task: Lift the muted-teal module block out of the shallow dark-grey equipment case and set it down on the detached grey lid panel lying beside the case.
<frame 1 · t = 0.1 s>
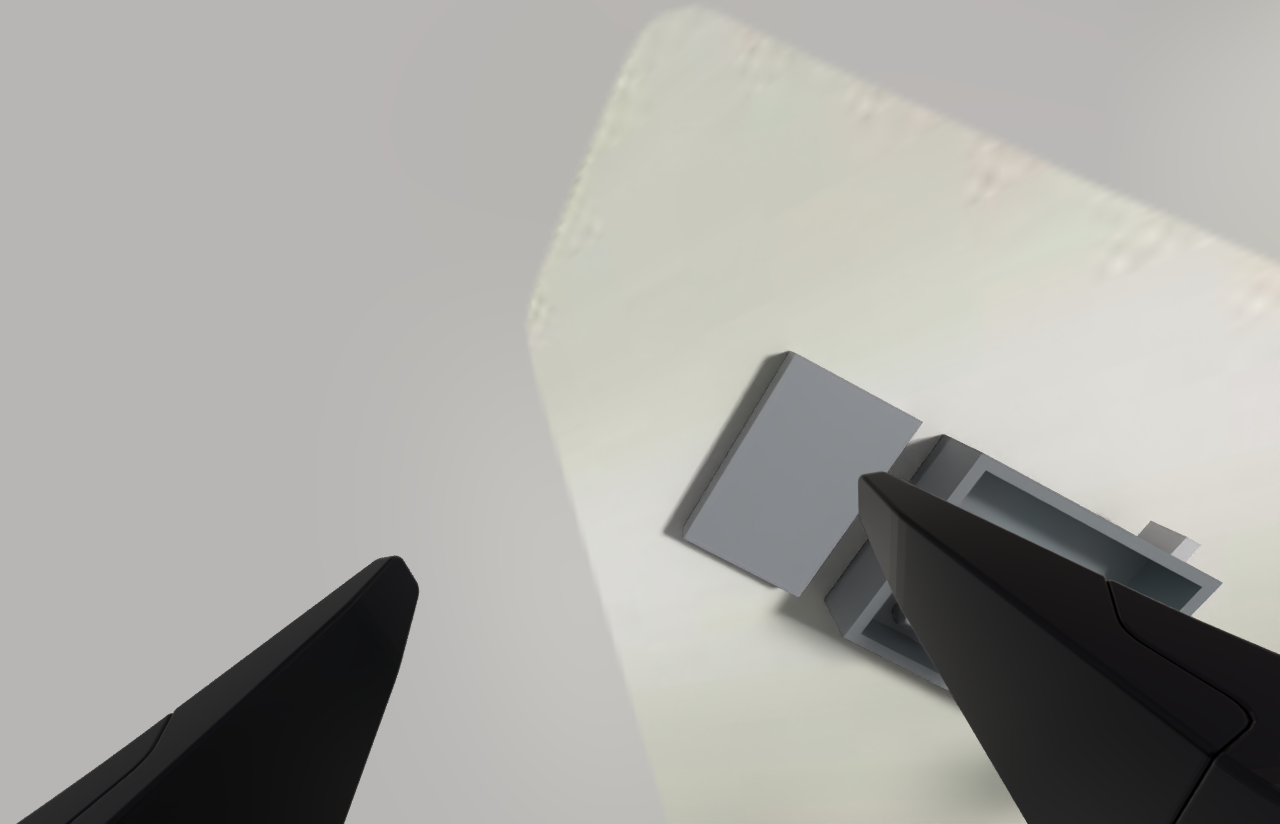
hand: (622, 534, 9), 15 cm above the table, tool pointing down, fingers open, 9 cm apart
lid panel: (791, 474, 25), on the table
case: (984, 575, 25), on the table
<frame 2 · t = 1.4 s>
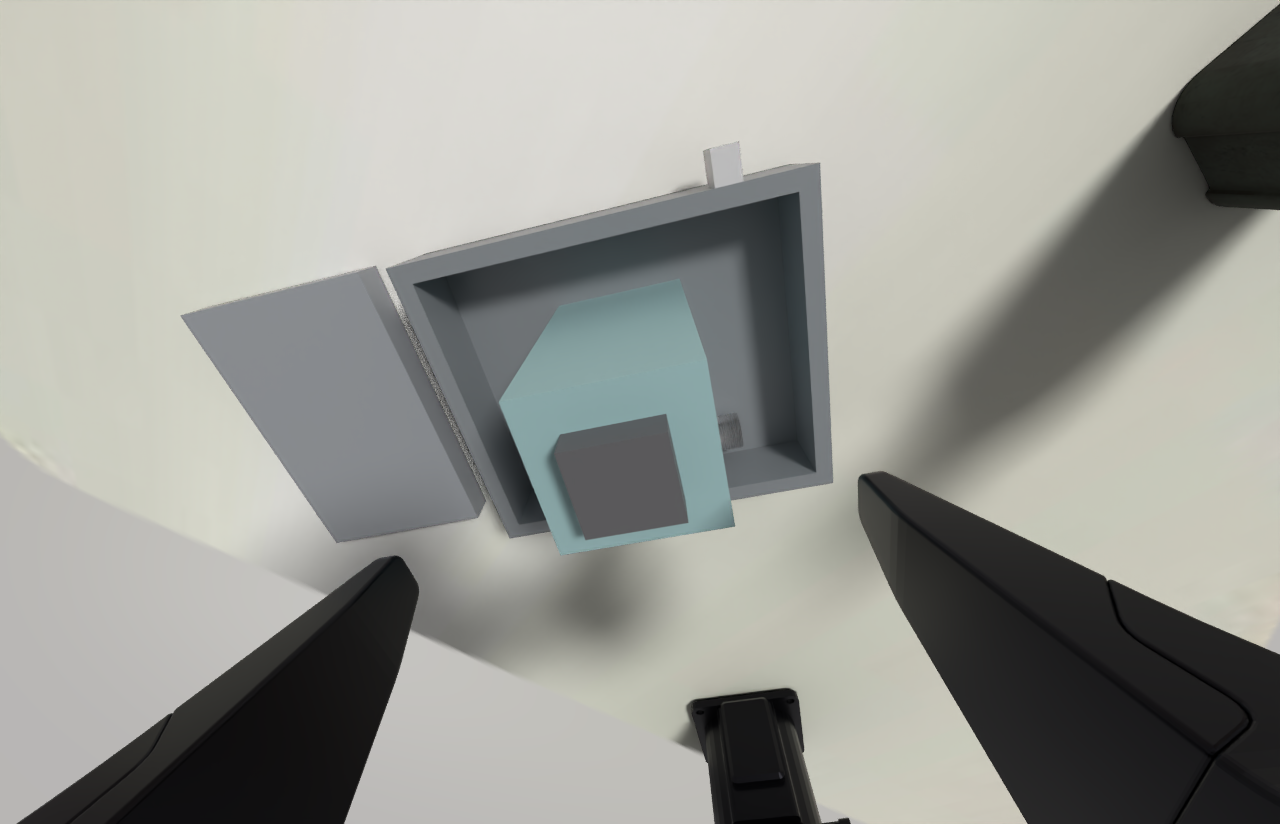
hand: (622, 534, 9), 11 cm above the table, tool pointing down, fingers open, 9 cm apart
lid panel: (361, 414, 20), on the table
candle: (1269, 99, 15), on the table
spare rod: (653, 437, 20), point 1 cm above the table, touching case
module: (632, 350, 18), point 1 cm above the table, touching case
case: (635, 356, 19), on the table
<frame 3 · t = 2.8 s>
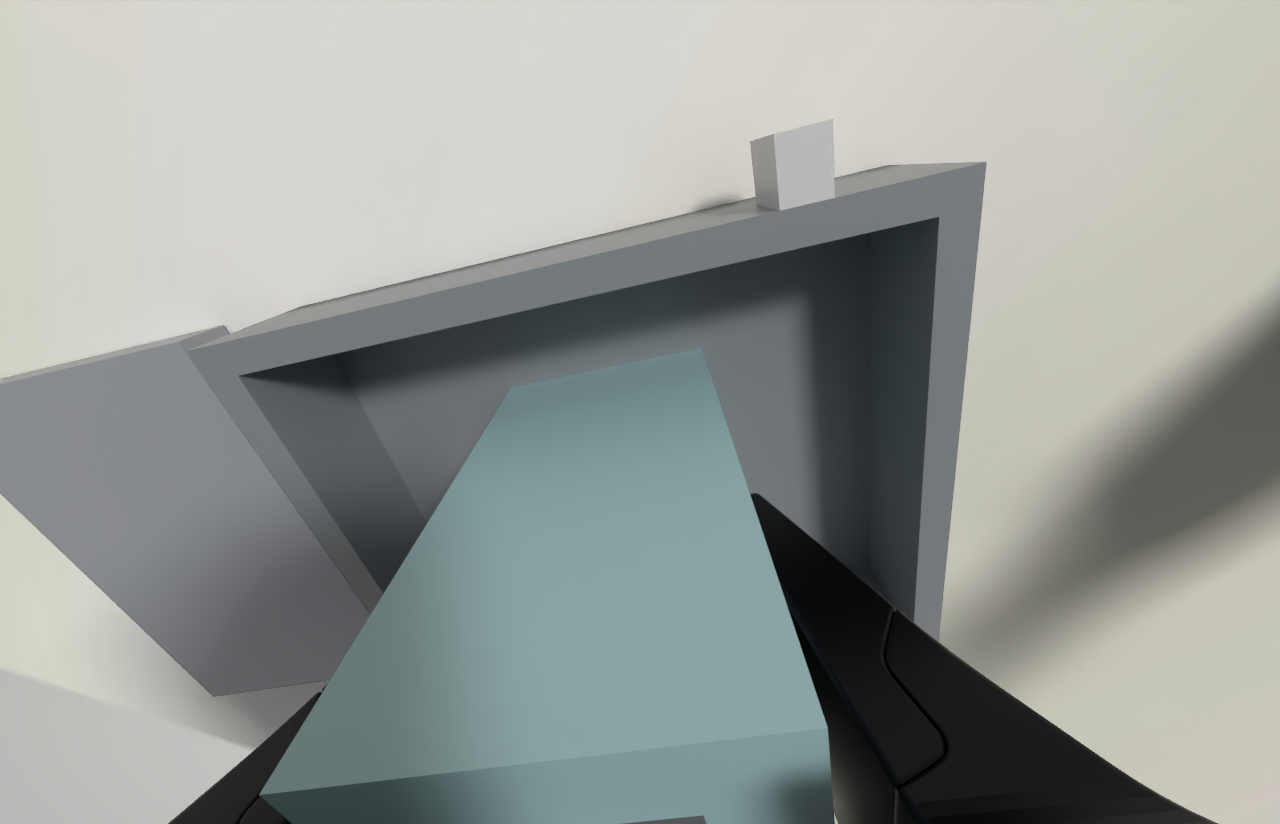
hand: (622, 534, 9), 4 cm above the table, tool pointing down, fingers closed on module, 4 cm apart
lid panel: (234, 528, 14), on the table
module: (627, 450, 12), point 1 cm above the table, touching case, gripper
case: (632, 454, 12), on the table
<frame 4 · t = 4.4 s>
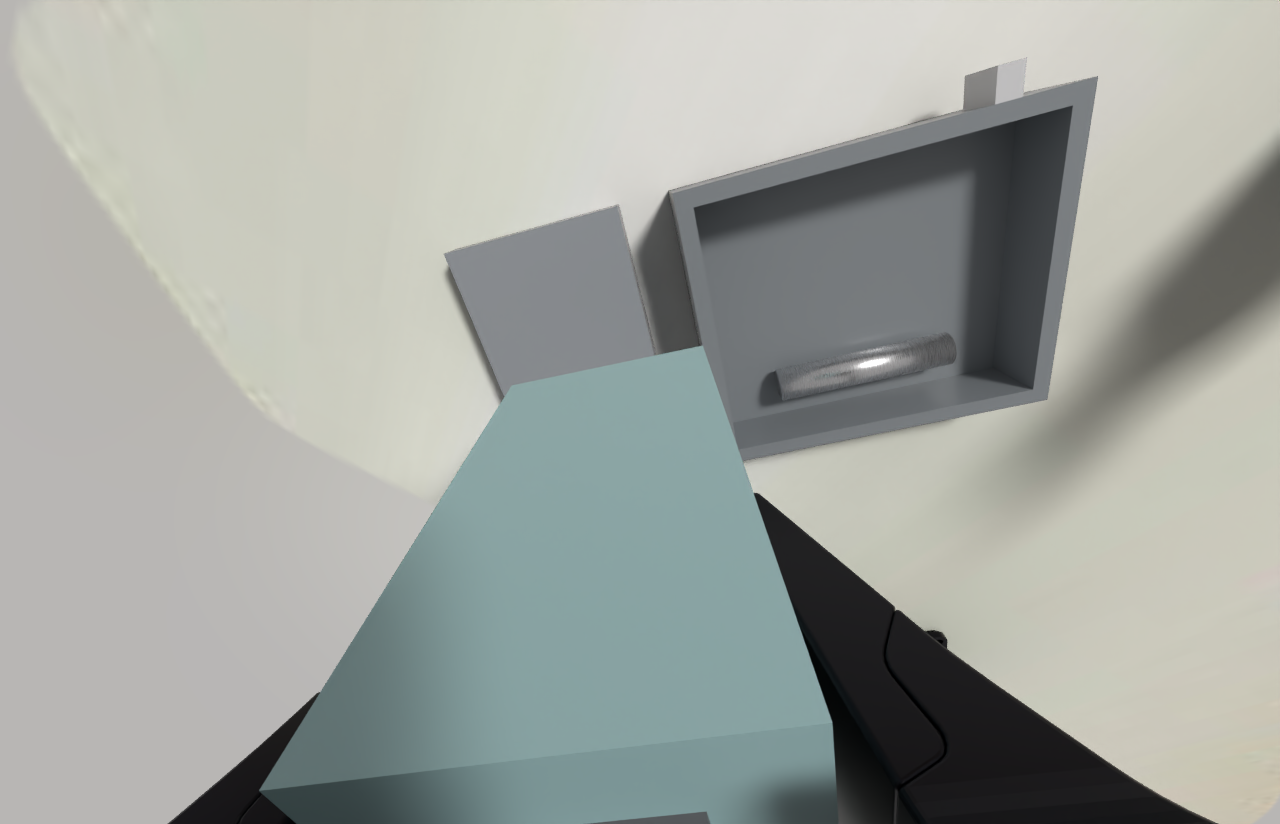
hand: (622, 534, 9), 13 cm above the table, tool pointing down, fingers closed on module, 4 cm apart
lid panel: (576, 353, 21), on the table
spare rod: (855, 369, 21), point 1 cm above the table, tilted 30°, touching case
module: (627, 448, 12), point 10 cm above the table, touching gripper
case: (846, 288, 20), on the table
when the fingers open (5 cm above the table, at t = 6.5 s): module stays where it is, resting on lid panel.
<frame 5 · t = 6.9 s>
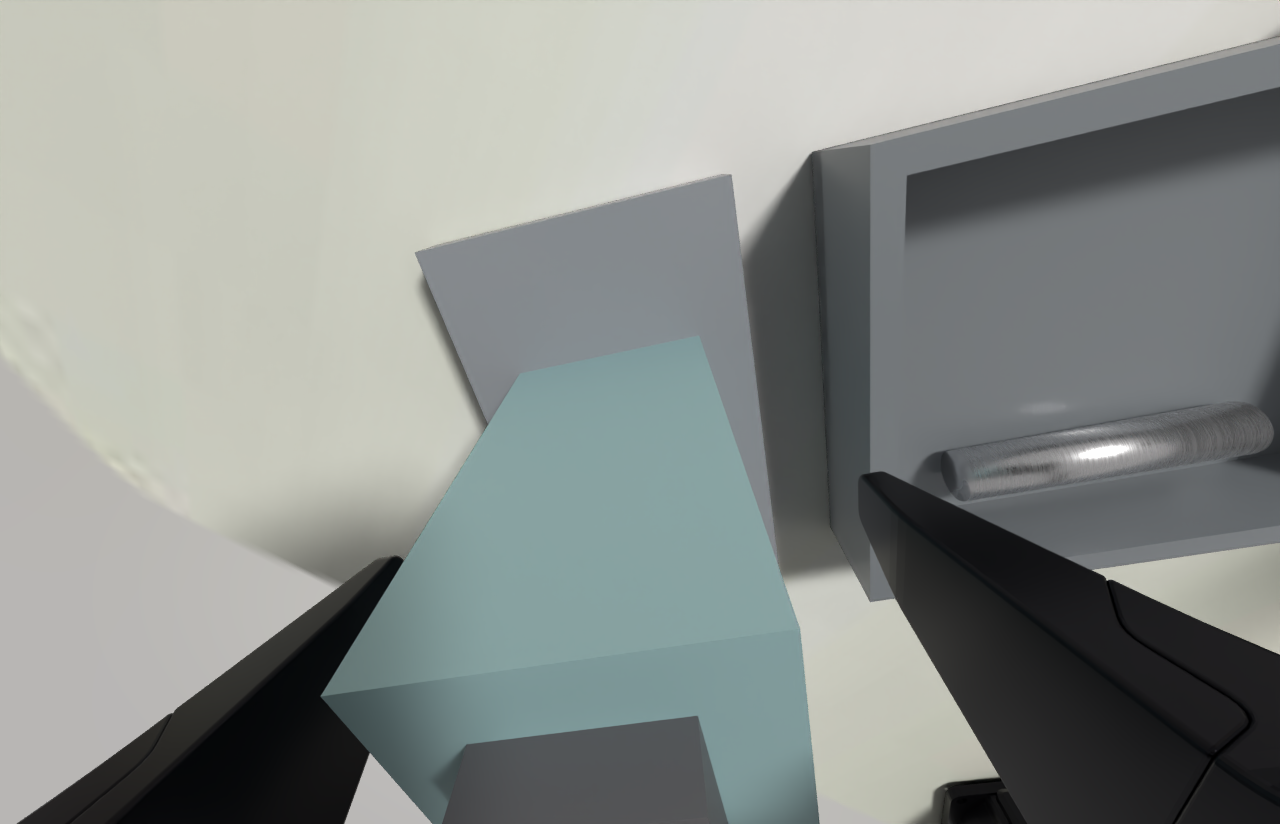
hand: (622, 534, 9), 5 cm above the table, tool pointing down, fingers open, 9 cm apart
lid panel: (628, 413, 13), on the table
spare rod: (1071, 450, 13), point 1 cm above the table, tilted 28°, touching case
module: (628, 433, 12), point 1 cm above the table, touching lid panel
case: (1076, 325, 12), on the table
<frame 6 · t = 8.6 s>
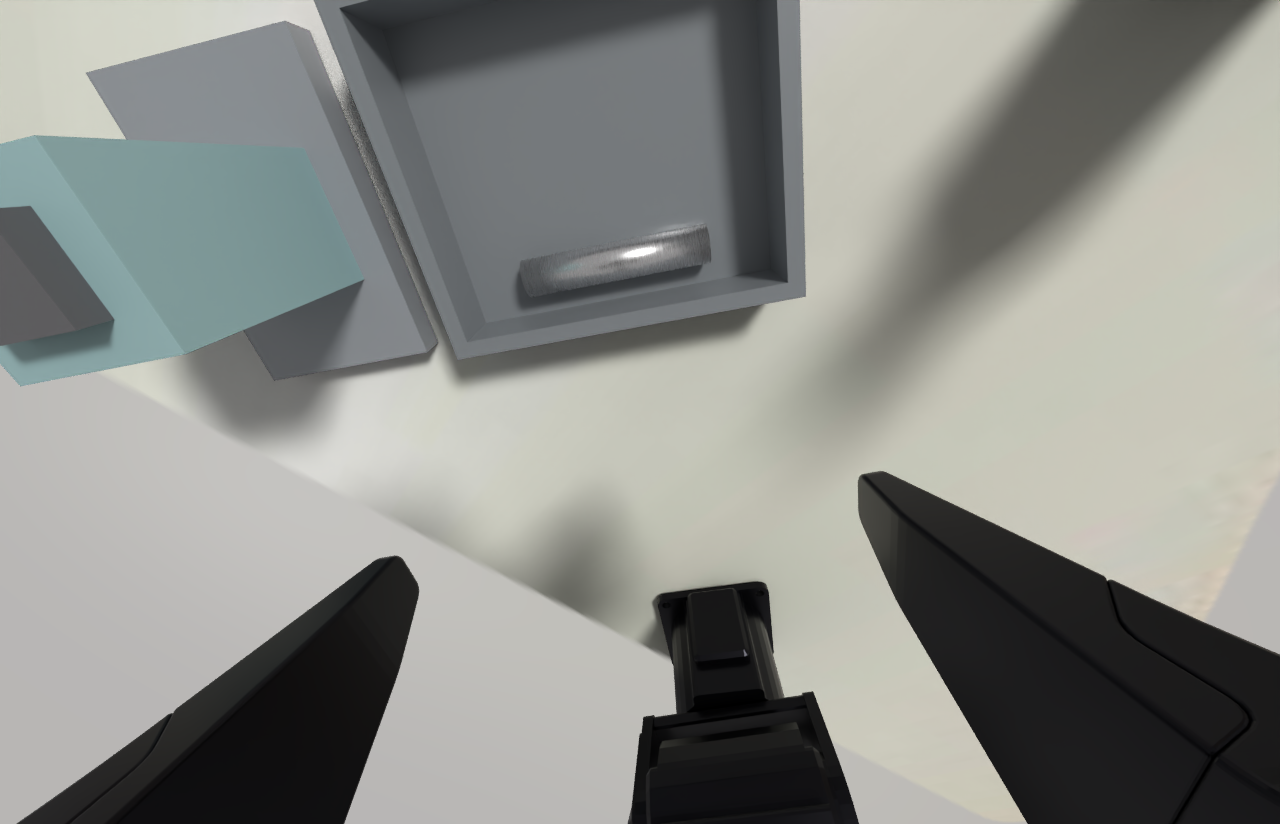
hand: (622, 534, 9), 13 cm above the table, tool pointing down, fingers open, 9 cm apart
lid panel: (299, 226, 18), on the table
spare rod: (617, 261, 18), point 1 cm above the table, tilted 11°, touching case
module: (279, 229, 17), point 1 cm above the table, touching lid panel
case: (598, 162, 17), on the table
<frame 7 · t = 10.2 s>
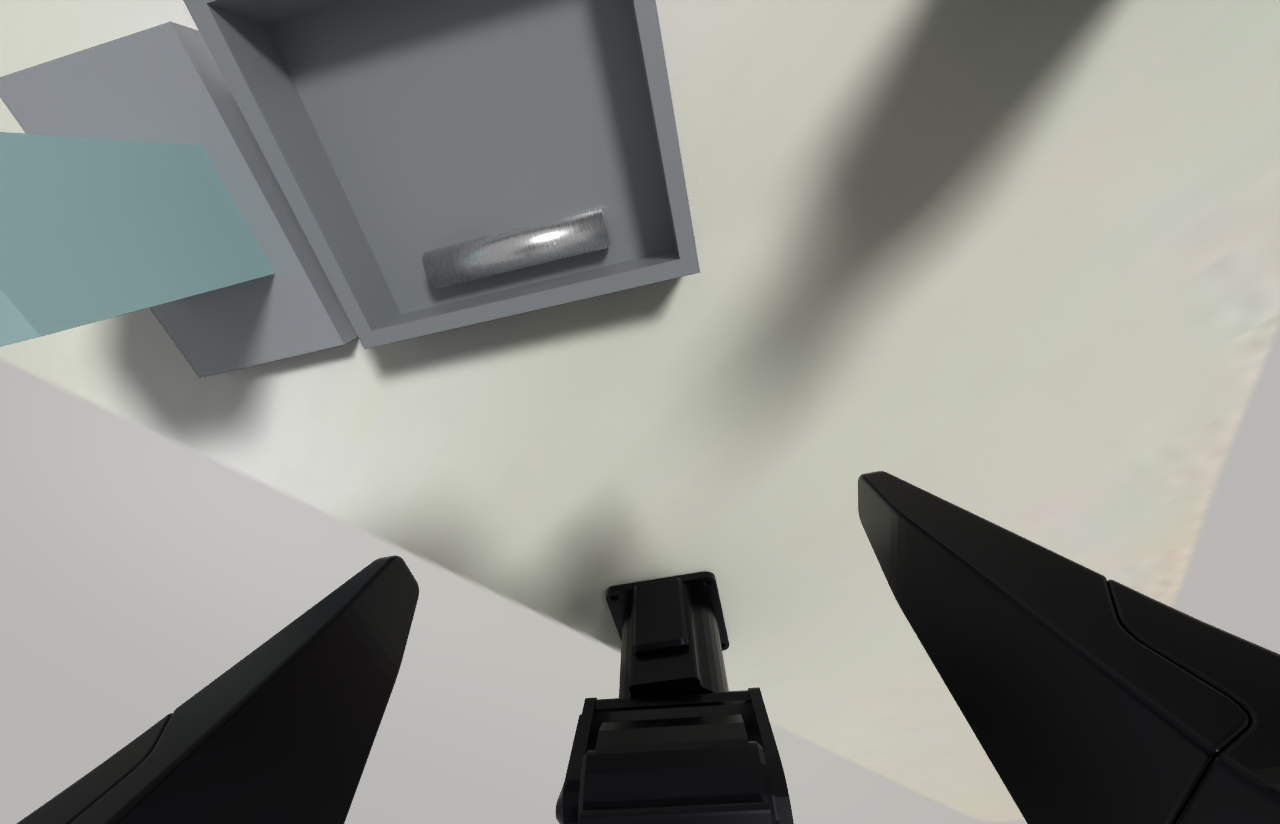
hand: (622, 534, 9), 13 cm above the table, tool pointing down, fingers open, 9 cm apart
lid panel: (213, 225, 19), on the table
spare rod: (522, 247, 18), point 1 cm above the table, touching case
module: (188, 227, 18), point 1 cm above the table, touching lid panel
case: (495, 149, 17), on the table
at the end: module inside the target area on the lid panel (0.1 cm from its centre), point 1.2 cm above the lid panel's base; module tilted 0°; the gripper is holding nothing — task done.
